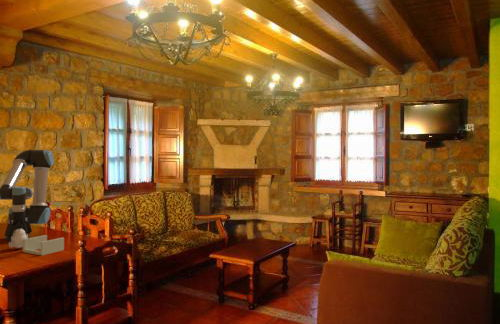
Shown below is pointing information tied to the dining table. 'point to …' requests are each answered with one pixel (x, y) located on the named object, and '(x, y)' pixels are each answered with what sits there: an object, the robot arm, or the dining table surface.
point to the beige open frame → (42, 245)
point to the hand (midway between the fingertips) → (18, 245)
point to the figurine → (18, 238)
